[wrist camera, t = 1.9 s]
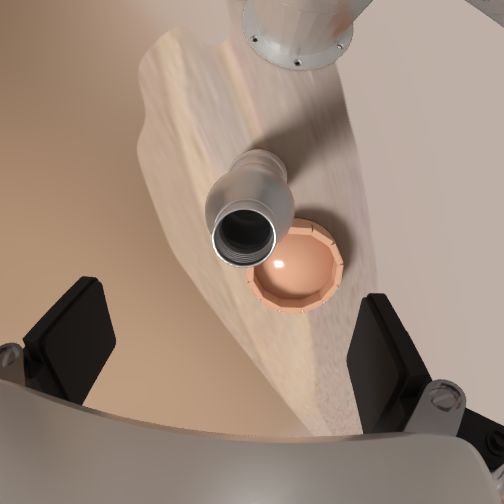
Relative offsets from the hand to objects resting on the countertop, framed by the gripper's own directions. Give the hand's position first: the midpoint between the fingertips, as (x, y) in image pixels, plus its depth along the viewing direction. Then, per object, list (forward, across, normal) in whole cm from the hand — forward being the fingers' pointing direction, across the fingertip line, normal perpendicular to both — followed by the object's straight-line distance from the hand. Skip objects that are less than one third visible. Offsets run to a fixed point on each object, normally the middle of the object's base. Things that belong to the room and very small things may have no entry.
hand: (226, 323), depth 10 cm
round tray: (+27, -5, +11) cm, 30 cm away
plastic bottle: (+27, 0, 0) cm, 27 cm away
